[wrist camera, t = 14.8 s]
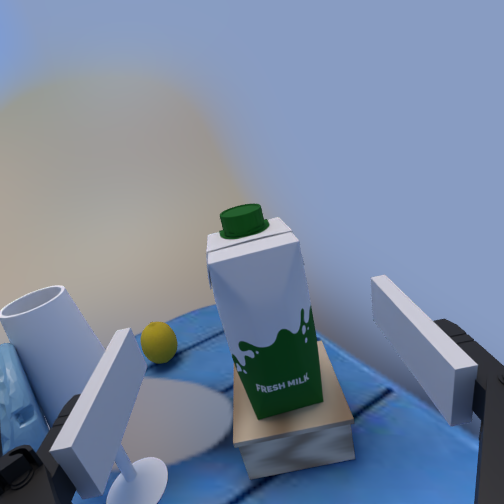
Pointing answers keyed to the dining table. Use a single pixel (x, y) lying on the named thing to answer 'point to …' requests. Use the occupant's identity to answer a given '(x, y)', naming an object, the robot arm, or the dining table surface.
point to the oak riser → (294, 430)
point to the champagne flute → (71, 376)
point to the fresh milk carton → (265, 310)
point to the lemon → (158, 342)
